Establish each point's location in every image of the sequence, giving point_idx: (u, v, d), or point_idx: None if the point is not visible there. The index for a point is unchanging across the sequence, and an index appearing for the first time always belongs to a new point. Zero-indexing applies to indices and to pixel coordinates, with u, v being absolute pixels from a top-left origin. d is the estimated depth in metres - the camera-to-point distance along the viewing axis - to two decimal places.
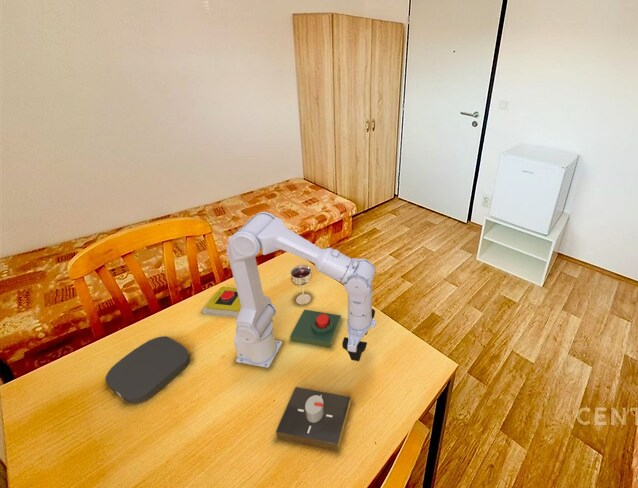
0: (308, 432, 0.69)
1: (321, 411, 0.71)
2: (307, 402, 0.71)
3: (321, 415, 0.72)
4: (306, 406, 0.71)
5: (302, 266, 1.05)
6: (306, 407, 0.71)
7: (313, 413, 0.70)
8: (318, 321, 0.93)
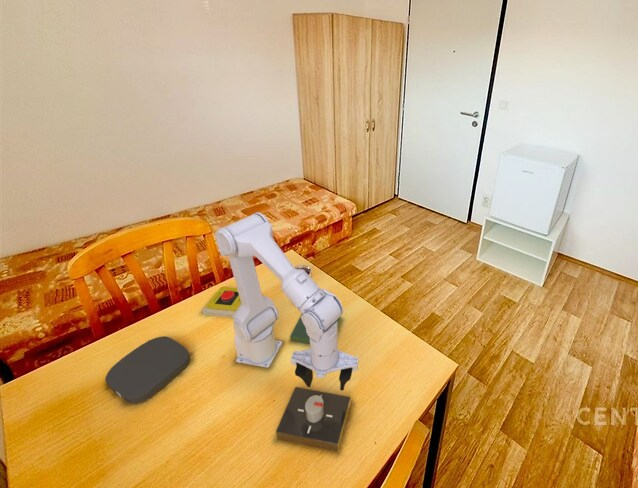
0: (308, 432, 0.69)
1: (321, 411, 0.71)
2: (307, 402, 0.71)
3: (321, 415, 0.72)
4: (306, 406, 0.71)
5: (302, 266, 1.05)
6: (306, 407, 0.71)
7: (313, 413, 0.70)
8: None
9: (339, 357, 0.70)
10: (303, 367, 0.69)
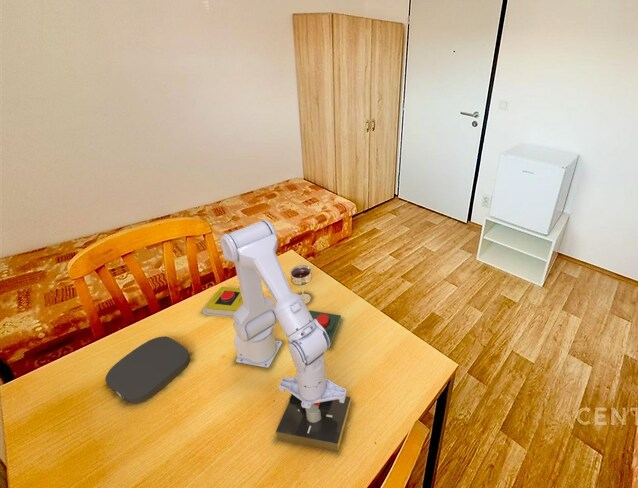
0: (308, 432, 0.69)
1: None
2: None
3: None
4: None
5: (302, 266, 1.05)
6: None
7: (313, 413, 0.70)
8: (318, 321, 0.93)
9: (327, 387, 0.69)
10: None
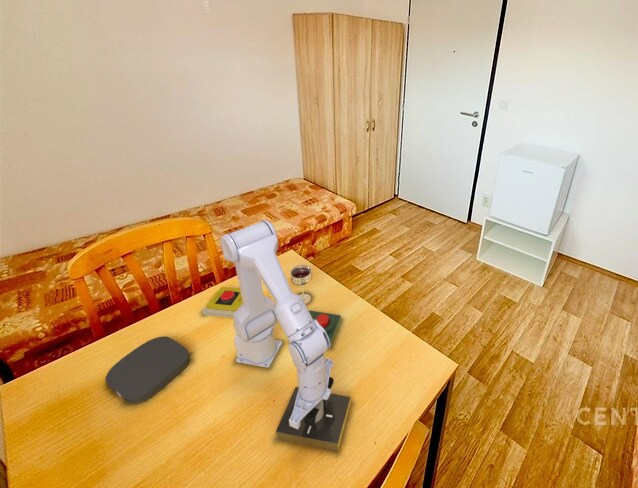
0: (308, 432, 0.69)
1: None
2: None
3: None
4: None
5: (302, 266, 1.05)
6: None
7: (323, 405, 0.71)
8: (318, 321, 0.93)
9: None
10: None
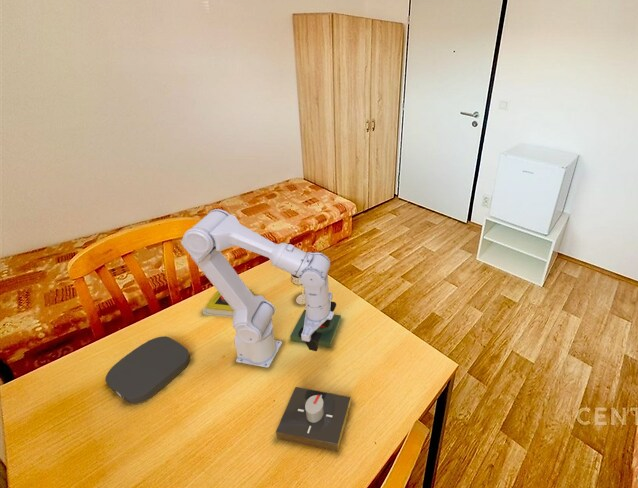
0: (308, 432, 0.69)
1: None
2: (310, 411, 0.70)
3: None
4: (313, 412, 0.70)
5: None
6: (314, 412, 0.70)
7: (323, 405, 0.71)
8: None
9: None
10: (314, 333, 0.77)
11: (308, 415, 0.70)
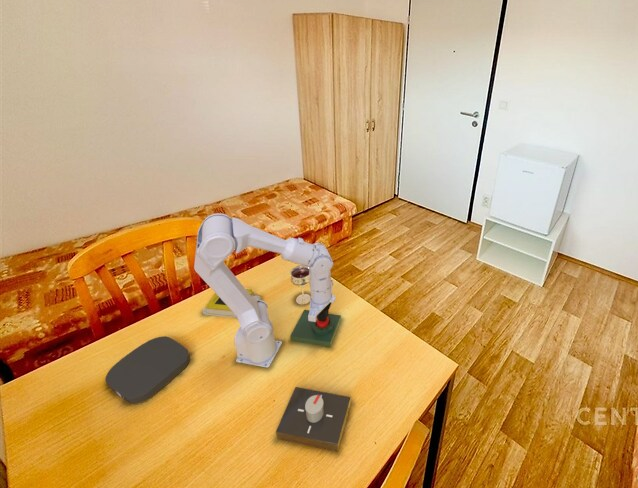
0: (308, 432, 0.69)
1: None
2: (310, 411, 0.70)
3: None
4: (313, 412, 0.70)
5: (302, 266, 1.05)
6: (314, 412, 0.70)
7: (323, 405, 0.71)
8: (318, 322, 0.93)
9: None
10: None
11: (308, 415, 0.70)
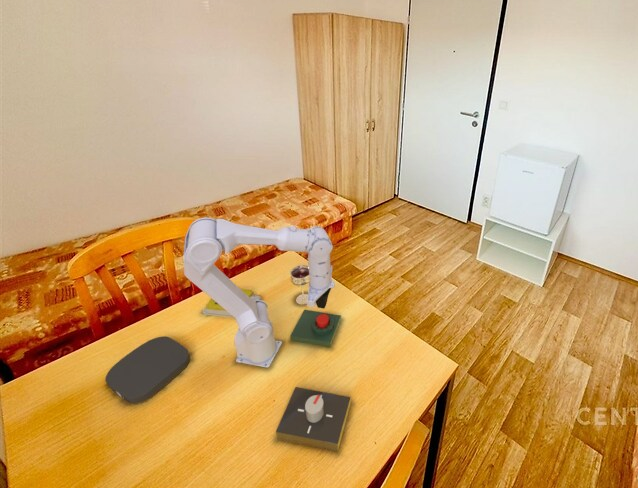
0: (308, 432, 0.69)
1: None
2: (310, 411, 0.70)
3: None
4: (313, 412, 0.70)
5: (302, 266, 1.05)
6: (314, 412, 0.70)
7: (323, 405, 0.71)
8: (318, 321, 0.93)
9: None
10: None
11: (308, 415, 0.70)
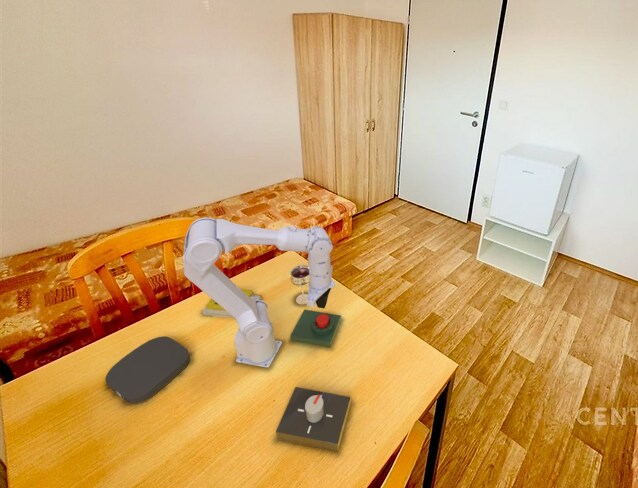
0: (308, 432, 0.69)
1: None
2: (310, 411, 0.70)
3: None
4: (313, 412, 0.70)
5: (302, 266, 1.05)
6: (314, 412, 0.70)
7: (323, 405, 0.71)
8: (318, 321, 0.93)
9: None
10: None
11: (308, 415, 0.70)
